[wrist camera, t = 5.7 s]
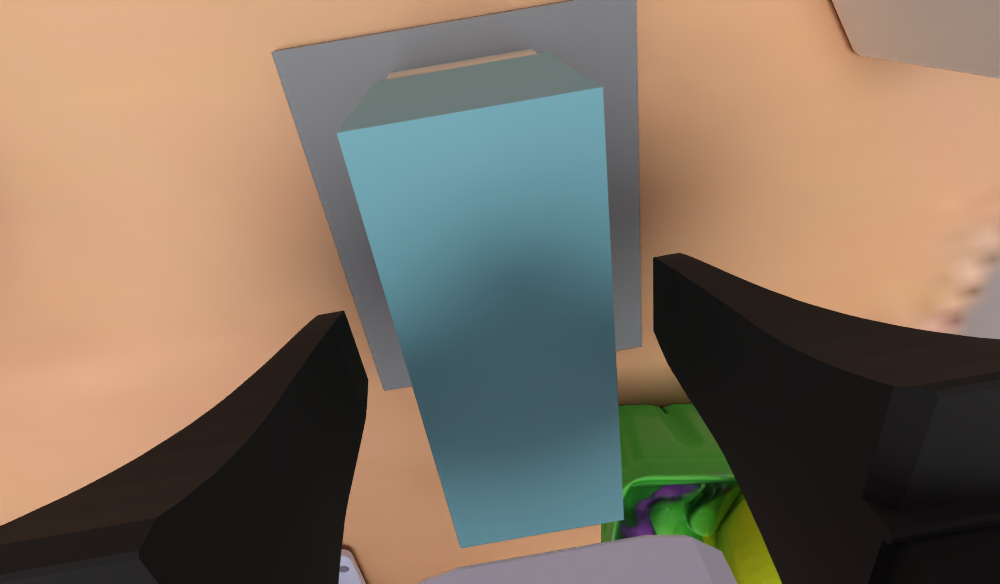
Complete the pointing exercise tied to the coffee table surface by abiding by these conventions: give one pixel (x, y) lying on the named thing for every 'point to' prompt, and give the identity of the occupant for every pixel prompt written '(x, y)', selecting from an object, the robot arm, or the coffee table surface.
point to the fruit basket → (685, 489)
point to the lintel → (499, 284)
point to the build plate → (371, 58)
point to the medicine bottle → (926, 32)
